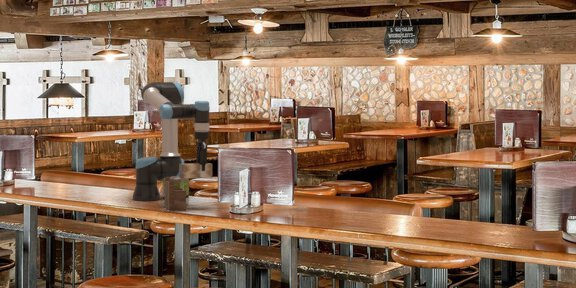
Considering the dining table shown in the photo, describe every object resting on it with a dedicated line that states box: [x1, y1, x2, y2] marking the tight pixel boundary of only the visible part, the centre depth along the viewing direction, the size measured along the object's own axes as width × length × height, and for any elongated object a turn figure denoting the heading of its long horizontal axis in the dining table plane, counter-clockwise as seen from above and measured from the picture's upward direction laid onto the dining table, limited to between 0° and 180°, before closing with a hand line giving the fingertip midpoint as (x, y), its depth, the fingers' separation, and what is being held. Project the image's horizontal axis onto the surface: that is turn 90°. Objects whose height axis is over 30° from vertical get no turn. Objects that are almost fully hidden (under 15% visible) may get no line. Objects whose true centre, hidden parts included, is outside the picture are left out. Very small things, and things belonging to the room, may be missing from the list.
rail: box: [179, 162, 213, 179], centre depth 452 cm, size 16×5×7 cm, turn 109°
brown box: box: [164, 177, 187, 212], centre depth 450 cm, size 14×8×16 cm, turn 18°
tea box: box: [161, 177, 190, 207], centre depth 466 cm, size 15×10×15 cm
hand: (201, 176), depth 454 cm, fingers closed on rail, 5 cm apart
